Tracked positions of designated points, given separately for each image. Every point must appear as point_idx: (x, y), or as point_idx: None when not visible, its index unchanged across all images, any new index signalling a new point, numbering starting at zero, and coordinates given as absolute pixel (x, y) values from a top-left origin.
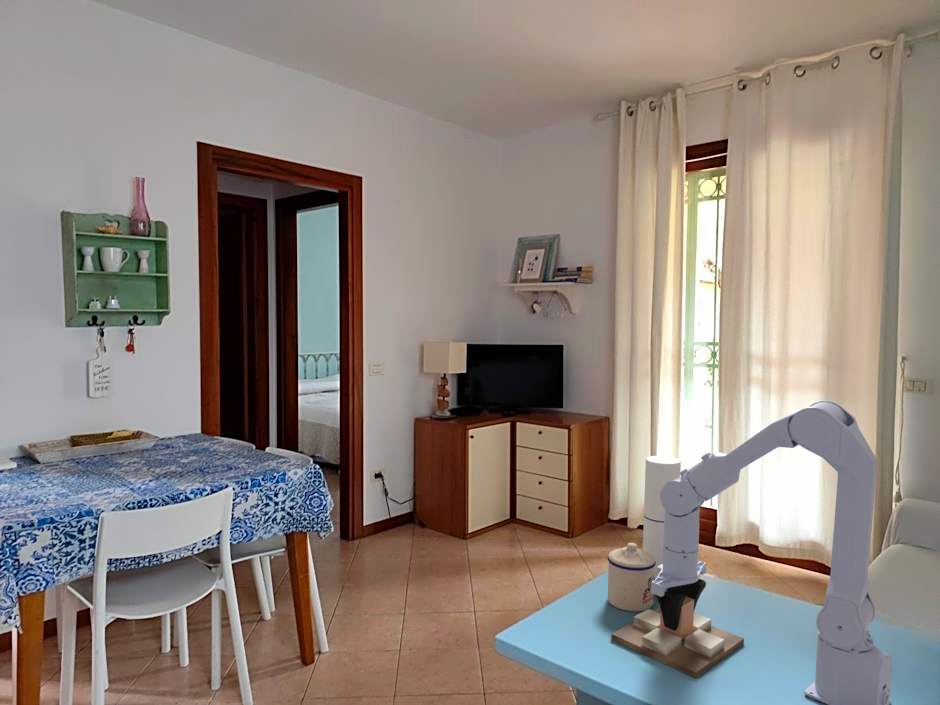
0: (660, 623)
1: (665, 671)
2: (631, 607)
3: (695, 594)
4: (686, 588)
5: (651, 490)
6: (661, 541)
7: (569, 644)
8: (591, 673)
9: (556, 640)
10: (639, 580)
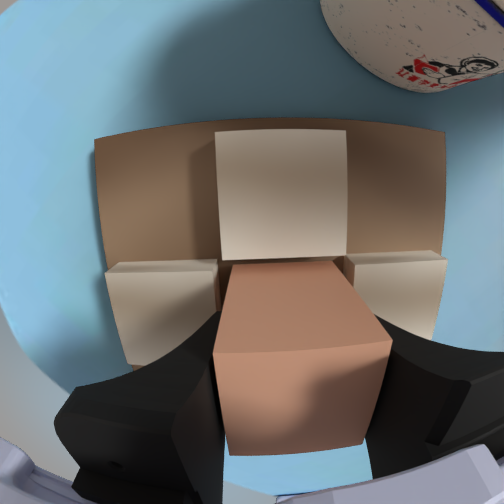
0: (229, 280)
1: (112, 354)
2: (349, 45)
3: (373, 464)
4: (393, 445)
5: None
6: None
7: (16, 106)
8: None
9: (14, 75)
10: (432, 18)
